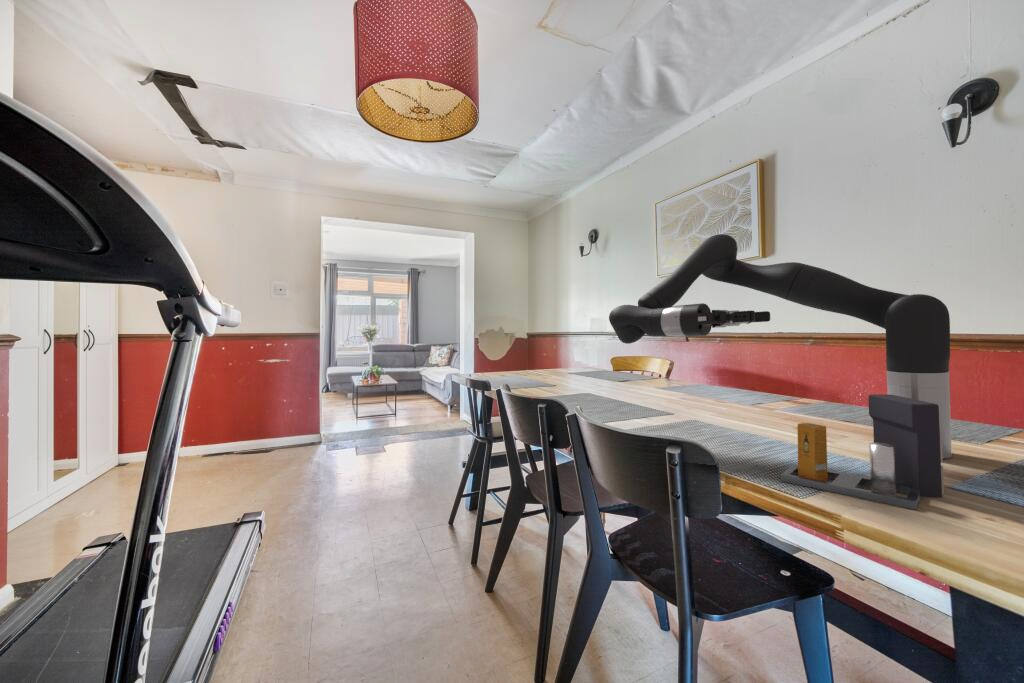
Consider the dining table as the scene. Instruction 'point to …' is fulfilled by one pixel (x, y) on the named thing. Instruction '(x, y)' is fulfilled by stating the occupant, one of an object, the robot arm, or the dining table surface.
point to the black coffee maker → (911, 440)
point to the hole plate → (855, 487)
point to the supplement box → (812, 451)
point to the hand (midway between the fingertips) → (762, 316)
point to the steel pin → (882, 468)
